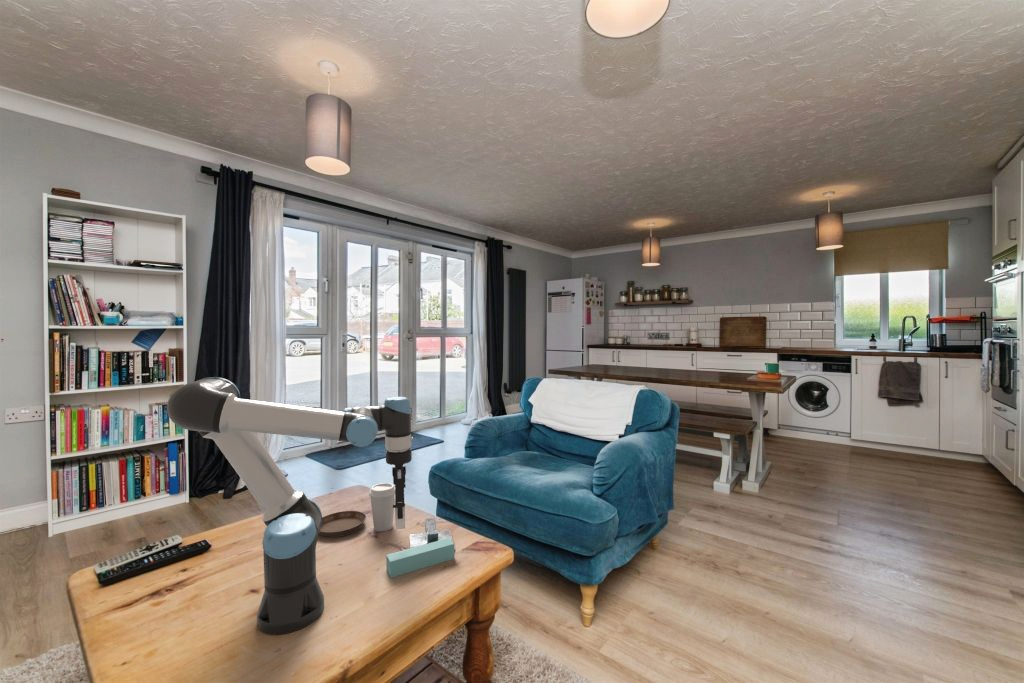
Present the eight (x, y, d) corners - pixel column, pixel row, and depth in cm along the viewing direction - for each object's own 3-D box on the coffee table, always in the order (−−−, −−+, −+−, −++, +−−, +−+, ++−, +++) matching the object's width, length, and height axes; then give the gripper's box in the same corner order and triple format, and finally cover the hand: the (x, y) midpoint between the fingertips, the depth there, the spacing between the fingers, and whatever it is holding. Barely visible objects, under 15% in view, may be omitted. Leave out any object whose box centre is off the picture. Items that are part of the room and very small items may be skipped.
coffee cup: (402, 525, 159) (401, 485, 159) (381, 536, 151) (381, 493, 151) (384, 519, 164) (383, 480, 164) (363, 529, 156) (363, 488, 156)
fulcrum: (455, 550, 140) (454, 532, 140) (410, 557, 137) (410, 538, 137) (450, 531, 154) (449, 514, 154) (409, 536, 150) (409, 519, 150)
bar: (454, 559, 136) (454, 543, 136) (390, 578, 126) (390, 561, 126) (449, 553, 140) (448, 537, 140) (386, 571, 130) (386, 554, 129)
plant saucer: (303, 532, 155) (303, 523, 155) (347, 514, 170) (347, 506, 170) (333, 545, 145) (332, 536, 145) (376, 525, 160) (376, 517, 160)
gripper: (413, 459, 119) (414, 535, 120) (409, 437, 143) (411, 501, 144) (384, 462, 117) (386, 539, 118) (386, 439, 141) (387, 504, 142)
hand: (400, 518), depth 131 cm, fingers open, 13 cm apart
